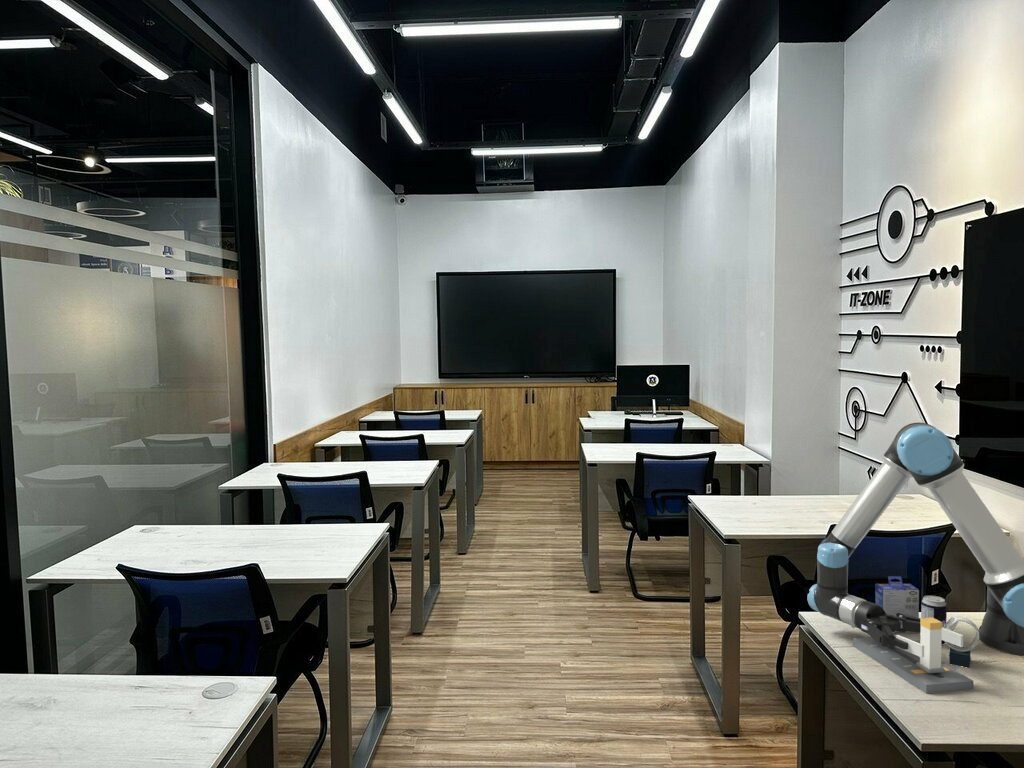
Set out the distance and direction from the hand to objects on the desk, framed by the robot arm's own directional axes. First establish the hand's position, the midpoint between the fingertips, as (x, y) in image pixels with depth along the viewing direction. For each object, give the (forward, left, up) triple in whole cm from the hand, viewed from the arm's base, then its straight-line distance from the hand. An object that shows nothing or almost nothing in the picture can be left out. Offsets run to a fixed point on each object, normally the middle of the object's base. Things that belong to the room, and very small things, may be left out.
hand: (943, 646), depth 159 cm
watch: (-13, -10, -9) cm, 19 cm away
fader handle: (+1, -3, -7) cm, 7 cm away
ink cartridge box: (-12, -31, -9) cm, 34 cm away
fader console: (+1, -10, -9) cm, 13 cm away
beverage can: (-15, -21, -9) cm, 27 cm away
